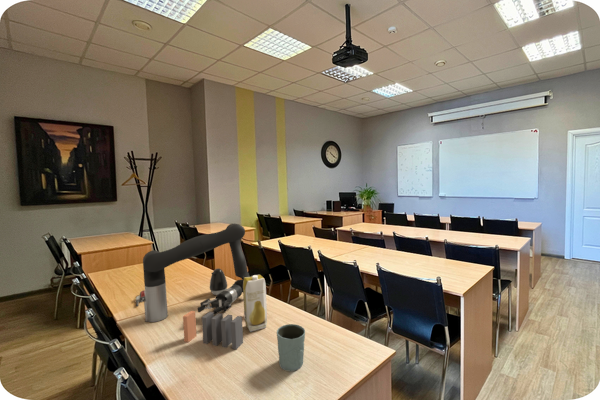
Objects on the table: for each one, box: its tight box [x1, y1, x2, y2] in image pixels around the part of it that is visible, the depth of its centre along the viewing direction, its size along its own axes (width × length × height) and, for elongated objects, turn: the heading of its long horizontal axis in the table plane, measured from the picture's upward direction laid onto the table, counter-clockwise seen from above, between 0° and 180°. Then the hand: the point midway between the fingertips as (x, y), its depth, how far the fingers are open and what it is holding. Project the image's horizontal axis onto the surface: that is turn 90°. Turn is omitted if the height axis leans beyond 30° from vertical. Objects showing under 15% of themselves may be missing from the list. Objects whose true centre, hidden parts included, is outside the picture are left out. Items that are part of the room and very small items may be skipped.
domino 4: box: [221, 314, 233, 349], centre depth 113 cm, size 2×5×11 cm, turn 160°
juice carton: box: [242, 274, 268, 333], centre depth 125 cm, size 9×8×24 cm
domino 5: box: [231, 315, 244, 351], centre depth 112 cm, size 2×5×11 cm, turn 160°
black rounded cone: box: [209, 268, 228, 296], centre depth 166 cm, size 10×10×15 cm
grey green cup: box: [276, 323, 306, 372], centre depth 100 cm, size 10×10×12 cm
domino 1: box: [182, 310, 197, 343], centre depth 118 cm, size 2×5×11 cm, turn 160°
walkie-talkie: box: [135, 289, 146, 307], centre depth 161 cm, size 9×4×20 cm
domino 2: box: [201, 311, 215, 345], centre depth 116 cm, size 2×5×11 cm, turn 160°
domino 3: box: [211, 312, 224, 347], centre depth 115 cm, size 2×5×11 cm, turn 161°
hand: (206, 311), depth 128 cm, fingers open, 8 cm apart
